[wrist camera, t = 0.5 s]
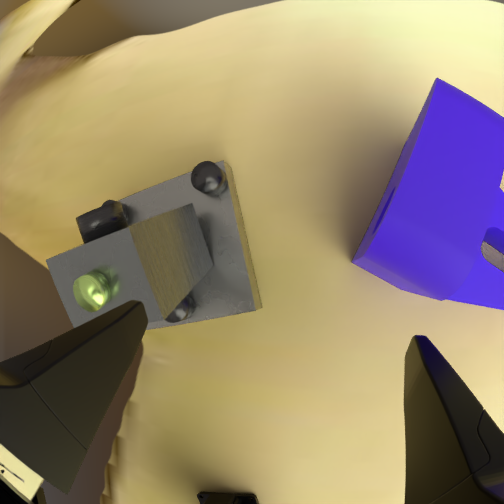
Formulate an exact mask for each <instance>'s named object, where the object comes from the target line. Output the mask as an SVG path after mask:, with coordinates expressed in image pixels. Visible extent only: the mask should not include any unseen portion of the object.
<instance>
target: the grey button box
mask: <svg viewBox="0 0 504 504" xmlns="http://www.w3.org/2000/svg"><path fill="white" fill-rule="evenodd" d="M76 221H77V224H78V227H79V230H80V233H81V236H82V239H83V242H84V244H81V245H79V246H76V247H74V248H72V249H70V250H67V251H65V252H63V253H60V254H58V255H56V256H54V257H52V258H49V259H47V260H46V262H47V265H48V268H49V270H50V273H51V276H52V278H53V281H54V283H55V285H56V288H57V291H58V293H59V295H60V298H61V300H62V302H63V304H64V307H65V309H66V311H67V313H68V316H69V318H70V320H71V322H72V324H73V326H74V328H76V327H78V326H80V325H82V324H84V323H86V322H88V321H90V320H92V319H94V318H96V317H98V316H100V315H102V314H104V313H106V312H108V311H110V310H112V309H114V308H116V307H118V306H120V305H122V304H124V303H126V302H128V301H130V300H137V301H141V302H142V303H143V304H144V307H145V311H146V314H147V317H148V323H151V322H157V321H163V320H165V319H166V318H167V317H168V315H169V314H170V313H171V312H172V311H173V310H174V309H175V308H176V306H177V305H178V304H179V303H180V302H181V301H182V300H183V299H184V297H185V296H186V295H187V294H188V293H189V292H190V291H191V290H192V288H193V287H194V286H195V285H196V284H197V283H198V282H199V281H200V280H201V278H202V277H203V276H204V275H205V274H206V273H207V272H208V271H209V270H210V268H211V267H212V266H213V263H212V260H211V257H210V254H209V251H208V248H207V245H206V242H205V239H204V236H203V233H202V230H201V227H200V224H199V221H198V218H197V215H196V212H195V209H194V206H193V203H190V204H187V205H184V206H181V207H178V208H175V209H172V210H170V211H167V212H164V213H161V214H158V215H155V216H153V217H150V218H147V219H144V220H141V221H139V222H136V223H133V224H131V225H128V224H127V221H126V218H125V215H124V212H123V208H122V205H121V202H120V201H119V202H114V203H111V204H108V205H105V206H102V207H99V208H97V209H94V210H92V211H89V212H87V213H85V214H83V215H81V216H79V217H77V218H76Z"/></svg>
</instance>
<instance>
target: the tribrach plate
mask: <svg viewBox="0 0 504 504" xmlns="http://www.w3.org/2000/svg"><path fill="white" fill-rule="evenodd" d="M119 201H120V202H121V205H122V208H123V212H124V215H125V218H126V221H127V224H128V225H131V224H133V223H136V222H139V221H141V220H144V219H147V218H150V217H153V216H155V215H158V214H161V213H164V212H167V211H170V210H172V209H175V208H178V207H181V206H184V205H187V204H190V203H193V206H194V209H195V212H196V215H197V218H198V221H199V224H200V227H201V230H202V233H203V236H204V239H205V242H206V245H207V248H208V251H209V254H210V257H211V260H212V263H213V266H212V267H211V268H210V270H209V271H208V272H207V273H206V274H205V275H204V276H203V277H202V278H201V280H200V281H199V282H198V283H197V284H196V285H195V286H194V287H193V288H192V290H191V291H190V292H189V293H188V294H187V295H186V296H185V297H184V299H183V300H182V301H181V302H180V303H179V304H178V305H177V306H176V308H175V309H174V310H173V311H172V312H171V313H170V314H169V315H168V317H167V318H166V319H165V320H163V321H157V322H151V323H148V325H147V328H146V330H148V329H155V328H161V327H168V326H174V325H180V324H186V323H192V322H197V321H203V320H209V319H214V318H220V317H225V316H230V315H235V314H241V313H246V312H251V311H256V310H258V309H260V308H262V304H261V300H260V295H259V291H258V286H257V282H256V277H255V273H254V268H253V264H252V259H251V255H250V250H249V246H248V241H247V237H246V232H245V228H244V223H243V219H242V214H241V210H240V205H239V201H238V196H237V192H236V187H235V183H234V178H233V174H232V169H231V167H230V166H229V165H228V164H227V163H225V162H224V161H220V162H217V163H213V162H210V161H204V162H201V163H199V164H198V165H197V166H196V167H195V168H194V169H193V171H192V172H189V173H186V174H184V175H181V176H178V177H176V178H173V179H170V180H168V181H165V182H163V183H160V184H158V185H155V186H152V187H150V188H148V189H145V190H143V191H140V192H138V193H135V194H133V195H131V196H128V197H126V198H124V199H121V200H119ZM119 201H114V200H108V201H106V202H104V203H103V205H102V206H105V205H108V204H111V203H114V202H119ZM102 206H101V207H102Z"/></svg>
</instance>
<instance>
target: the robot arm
mask: <svg viewBox="0 0 504 504" xmlns="http://www.w3.org/2000/svg"><path fill="white" fill-rule="evenodd" d="M147 325H148V317H147V314H146V311H145V307H144V304H143V303H142V302H141V301H137V300H130V301H128V302H126V303H124V304H122V305H120V306H118V307H116V308H114V309H112V310H110V311H108V312H106V313H104V314H102V315H100V316H98V317H96V318H94V319H92V320H90V321H88V322H86V323H84V324H82V325H80V326H78V327H76V328H74V329H72V330H70V331H68V332H66V333H64V334H62V335H60V336H58V337H56V338H54V339H53V340H50V341H48V342H46V343H44V344H42V345H39V346H37V347H35V348H34V349H31V350H29V351H26V352H24V353H22V354H19V355H17V356H14V357H12V358H9V359H7V360H4V361H2V362H0V504H46V500H45V495H44V491H43V488H41V487H40V486H41V484H42V483H43V481H44V479H45V480H46V481H47V482H49V483H50V484H52V485H53V486H54V487H56V488H57V489H59V490H60V491H62V492H63V493H65V494H68V492H69V491H70V488H71V486H72V484H73V482H74V479H75V477H76V475H77V473H78V471H79V468H80V466H81V464H82V462H83V460H84V458H85V455H86V453H87V450H88V449H89V447H90V444H91V442H92V440H93V438H94V436H95V434H96V432H97V430H98V428H99V426H100V424H101V422H102V420H103V418H104V416H105V414H106V412H107V410H108V408H109V406H110V404H111V402H112V400H113V398H114V396H115V394H116V392H117V390H118V388H119V386H120V384H121V383H122V381H123V378H124V377H125V375H126V373H127V371H128V369H129V367H130V365H131V363H132V361H133V359H134V357H135V355H136V352H137V350H138V348H139V345H140V343H141V340H142V338H143V335H144V333H145V330H146V328H147ZM404 416H405V441H406V482H405V504H504V433H503V432H502V431H501V430H500V429H499V427H498V426H497V425H496V423H495V422H494V421H493V420H492V418H491V417H490V416H489V414H488V413H487V412H486V410H485V409H484V410H483V406H482V405H481V404H480V402H479V401H478V400H477V398H476V397H475V396H474V394H473V393H472V392H471V391H470V389H469V388H468V387H467V385H466V384H465V383H464V382H463V380H462V379H461V378H460V376H459V375H458V374H457V373H456V371H455V370H454V369H453V368H452V367H451V365H450V364H449V363H448V362H447V360H446V359H445V358H444V357H443V356H442V354H441V353H440V352H439V351H438V350H437V348H436V347H435V346H434V345H433V344H432V342H431V341H430V340H429V339H428V338H427V337H426V336H423V335H415V336H413V337H412V339H411V342H410V344H409V347H408V349H407V352H406V355H405V378H404ZM201 495H202V496H201ZM197 497H198V499H199V502H200V504H259V503H258V500H257V497H256V496H255V495H254V494H231V493H212V492H199V493H198V494H197ZM251 498H253V499H251Z"/></svg>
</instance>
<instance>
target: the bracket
mask: <svg viewBox="0 0 504 504" xmlns="http://www.w3.org/2000/svg"><path fill="white" fill-rule="evenodd" d="M503 171H504V117H502V116H501V115H499V114H498V113H496V112H495V111H493V110H492V109H490V108H489V107H487V106H486V105H484V104H482V103H481V102H479V101H478V100H476V99H474V98H473V97H471V96H469V95H468V94H466V93H464V92H463V91H461V90H459V89H457V88H456V87H454V86H452V85H450V84H448V83H446V82H445V81H443V80H441V79H439V78H436V79H435V81H434V84H433V86H432V88H431V90H430V93H429V95H428V97H427V99H426V101H425V104H424V106H423V108H422V110H421V112H420V114H419V117H418V119H417V121H416V123H415V125H414V127H413V129H412V131H411V133H410V135H409V137H408V139H407V141H406V143H405V145H404V148H403V150H402V153H401V155H400V158H399V160H398V163H397V165H396V167H395V170H394V172H393V174H392V177H391V179H390V181H389V184H388V186H387V188H386V191H385V193H384V195H383V197H382V200H381V202H380V204H379V206H378V208H377V210H376V213H375V215H374V217H373V219H372V221H371V223H370V225H369V228H368V230H367V232H366V234H365V236H364V238H363V240H362V242H361V244H360V246H359V248H358V250H357V252H356V254H355V256H354V258H353V260H352V263H353V264H355V265H357V266H359V267H361V268H363V269H365V270H366V271H368V272H370V273H372V274H374V275H376V276H377V277H379V278H381V279H383V280H385V281H386V282H388V283H390V284H392V285H394V286H395V287H397V288H399V289H401V290H404V291H408V292H411V293H415V294H419V295H422V296H426V297H430V298H433V299H437V300H441V301H442V300H445V299H447V300H452V301H458V302H463V303H469V304H474V305H479V306H485V307H490V308H496V309H501V310H504V273H503V272H502V271H501V270H499V269H498V268H496V267H495V266H493V265H492V264H491V263H489V262H488V261H486V260H485V258H484V257H483V255H482V252H481V248H480V247H481V245H482V242H483V240H484V241H485V242H487V243H488V244H489V245H491V246H492V247H494V248H495V249H497V250H498V251H499V252H501V253H502V254H504V192H503V191H502V190H501V189H500V183H501V179H502V175H503Z"/></svg>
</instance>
